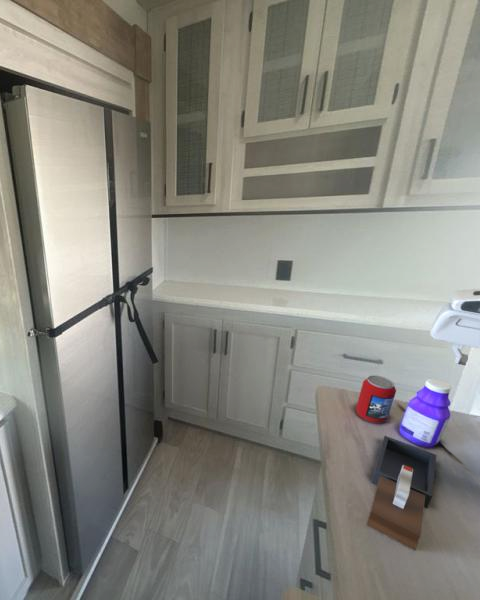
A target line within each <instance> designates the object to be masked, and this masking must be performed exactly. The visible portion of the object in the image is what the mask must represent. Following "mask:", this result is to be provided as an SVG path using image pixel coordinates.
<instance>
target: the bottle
mask: <svg viewBox="0 0 480 600" xmlns="http://www.w3.org/2000/svg"><path fill="white" fill-rule="evenodd" d="M451 389H452V386H451V384H449V383H448V382H446V381H444V380H441V379H437V378H429V379H426V382H425V384H424V386H423V387H422V388H421V389H420V390H417V391H416V393H415V394H416V395H415V396H414V397H413V398H411V399H410V400H409V401H408V403H407V406H406V408H405V410H404V414H403V416H402V419H401V422H400V425H399V433H400V434H401V435H402V436H403V438H405V439H407V440H408V441H410V442H412V443H414V444H415V445H418V446H420V447H423V448H427V449H429V448H433V447H435V446H436V445H438V444H439V442H440V441H441V439H442V436H443V434H444V432H445V430H446V428H447V425H448V423H449V421H450V419H451V410H450V409H449V407H450V406H451V400H450V398H449V396H450V392H451Z"/></svg>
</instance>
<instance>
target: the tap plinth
mask: <svg viewBox="0 0 480 600" xmlns="http://www.w3.org/2000/svg"><path fill="white" fill-rule="evenodd" d="M396 485H397V483H396V482H394V481H391V480H389V479H387V478H385V477H382V476H380V478H379V481H378V484H377V485H376V487H375V490H374V494H373V498H372V502H371V506H370V508H369V509H370V510H369V512H368V513H369V514H368V518H367V521H366V525H367V526H369V527H370V528H372V529H374V530H376V531H378V532H380V533H381V534H384V535H386V536H387V537H389V538H392V539H393V540H395V541H397V542H398V543H401V544H402V545H404V546H406V547H408V548H409V549H412V550H414V551H415V550H416V548H417V545H418V543H419V541H420V538H421V535H422V526H423V518H424V510H425V507H424V502H425V495H423V494H421V493H419V492H416V491H414V490H412V489H410V492H409V496H408V499H407V501H406V504H405V506H404V509H402V508H400V507H398V506H396V505H394V504H393V500H394V495H395V490H396Z"/></svg>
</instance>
